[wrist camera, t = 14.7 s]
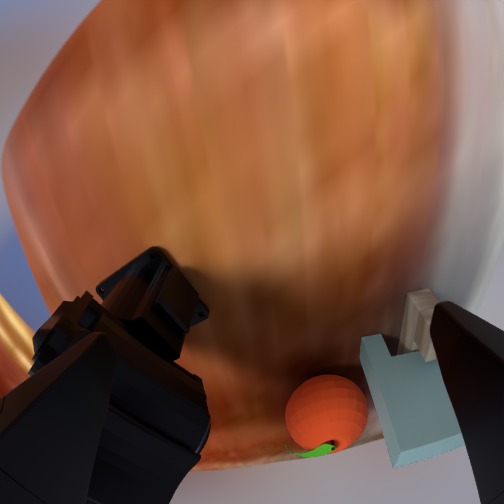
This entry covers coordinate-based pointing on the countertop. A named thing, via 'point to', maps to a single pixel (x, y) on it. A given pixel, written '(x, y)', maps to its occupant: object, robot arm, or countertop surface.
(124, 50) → the countertop surface
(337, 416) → the clementine
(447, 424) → the teal slotted plate
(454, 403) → the robot arm
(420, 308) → the birch slotted plate
